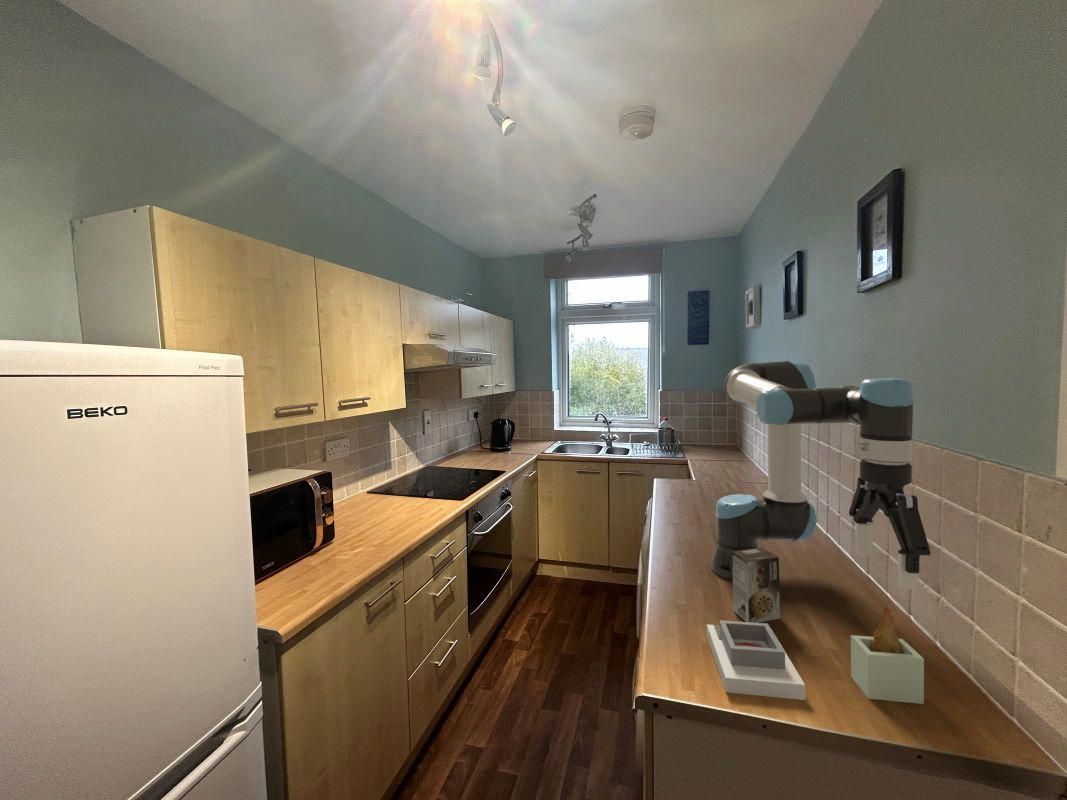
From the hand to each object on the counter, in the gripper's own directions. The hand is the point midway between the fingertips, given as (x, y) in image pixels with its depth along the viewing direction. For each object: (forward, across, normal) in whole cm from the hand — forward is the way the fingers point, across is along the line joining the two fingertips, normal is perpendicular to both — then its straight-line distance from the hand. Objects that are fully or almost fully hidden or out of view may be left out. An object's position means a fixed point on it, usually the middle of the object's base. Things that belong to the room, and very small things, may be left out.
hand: (884, 570), depth 81 cm
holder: (+23, +1, 0) cm, 23 cm away
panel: (+23, -3, -23) cm, 33 cm away
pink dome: (+23, -3, -23) cm, 33 cm away
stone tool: (+23, 0, 0) cm, 23 cm away
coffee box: (+24, -23, -16) cm, 37 cm away
